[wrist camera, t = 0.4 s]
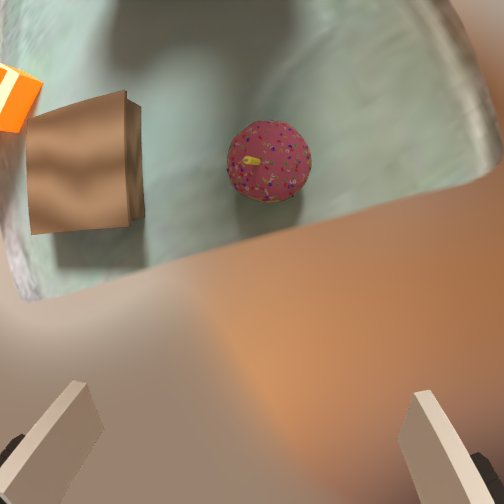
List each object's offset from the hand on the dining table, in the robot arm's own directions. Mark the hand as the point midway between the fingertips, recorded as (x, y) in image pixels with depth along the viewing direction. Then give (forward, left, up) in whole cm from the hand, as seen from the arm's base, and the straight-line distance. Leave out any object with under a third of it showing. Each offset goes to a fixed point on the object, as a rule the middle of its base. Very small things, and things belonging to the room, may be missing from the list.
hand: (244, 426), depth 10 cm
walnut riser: (-13, -21, -27) cm, 37 cm away
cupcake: (-11, +1, -28) cm, 30 cm away
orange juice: (-27, -37, -28) cm, 53 cm away
